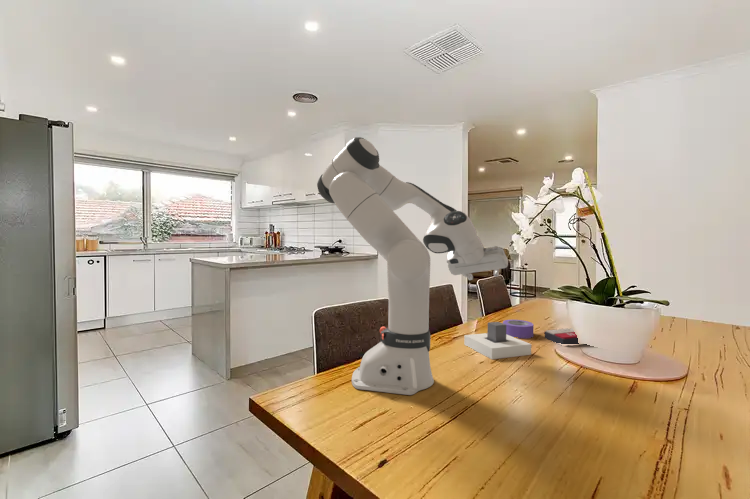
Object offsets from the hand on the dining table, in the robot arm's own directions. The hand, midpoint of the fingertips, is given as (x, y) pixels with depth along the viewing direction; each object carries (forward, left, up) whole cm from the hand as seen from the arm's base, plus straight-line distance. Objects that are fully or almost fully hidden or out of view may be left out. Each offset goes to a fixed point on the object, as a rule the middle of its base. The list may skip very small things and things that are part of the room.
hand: (483, 276), depth 126 cm
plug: (+4, -4, -24) cm, 25 cm away
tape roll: (+19, +17, -26) cm, 36 cm away
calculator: (+36, +9, -26) cm, 46 cm away
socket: (+4, -4, -25) cm, 26 cm away
